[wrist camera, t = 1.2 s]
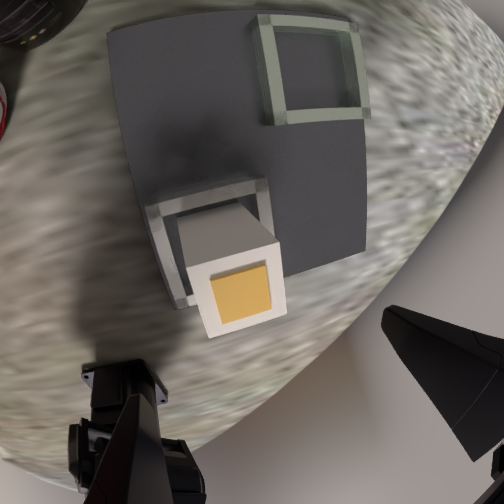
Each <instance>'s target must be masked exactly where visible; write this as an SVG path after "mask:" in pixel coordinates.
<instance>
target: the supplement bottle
mask: <svg viewBox="0 0 504 504" xmlns="http://www.w3.org/2000/svg"><path fill="white" fill-rule="evenodd" d="M83 2H84V0H0V47H2V48H5V49H8V50H11V51H27V50H31V49H34V48H36V47H38V46H40V45H42V44H44V43H46V42H48V41H49V40H51V39H52V38H53V37H55V36H56V35H57V34H59V33H60V32H61V31H62V30H63V29H64V28H65V27H66V26H67V25H68V24H69V23H70V22H71V21H72V19H73V18H74V17H75V16H76V14H77V13H78V11H79V10H80V8H81V6H82V4H83Z"/></svg>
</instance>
